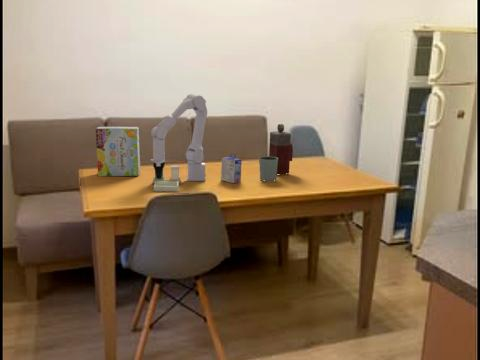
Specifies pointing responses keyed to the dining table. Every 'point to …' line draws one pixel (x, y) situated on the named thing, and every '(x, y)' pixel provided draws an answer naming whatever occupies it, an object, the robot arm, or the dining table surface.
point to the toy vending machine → (281, 149)
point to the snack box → (118, 151)
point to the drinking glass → (268, 168)
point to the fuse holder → (167, 180)
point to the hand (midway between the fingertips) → (159, 177)
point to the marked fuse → (159, 178)
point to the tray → (166, 186)
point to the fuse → (174, 172)
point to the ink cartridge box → (231, 169)
